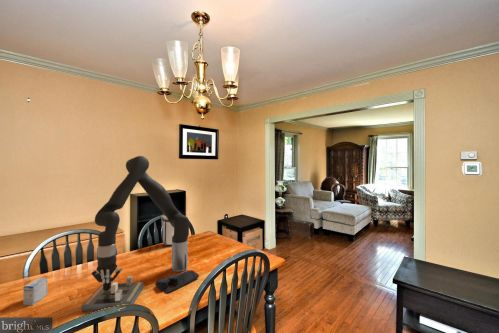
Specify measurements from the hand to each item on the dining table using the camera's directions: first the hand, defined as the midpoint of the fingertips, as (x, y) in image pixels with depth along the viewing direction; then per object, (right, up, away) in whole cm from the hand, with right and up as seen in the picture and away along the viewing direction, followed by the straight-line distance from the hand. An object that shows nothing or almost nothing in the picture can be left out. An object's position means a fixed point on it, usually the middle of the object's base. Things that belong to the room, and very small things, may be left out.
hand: (106, 290), depth 107 cm
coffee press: (+6, -4, +75) cm, 75 cm away
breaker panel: (+4, -4, 0) cm, 6 cm away
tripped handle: (+3, -1, 0) cm, 3 cm away
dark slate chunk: (+28, -5, +17) cm, 33 cm away
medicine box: (-32, -4, -1) cm, 33 cm away
